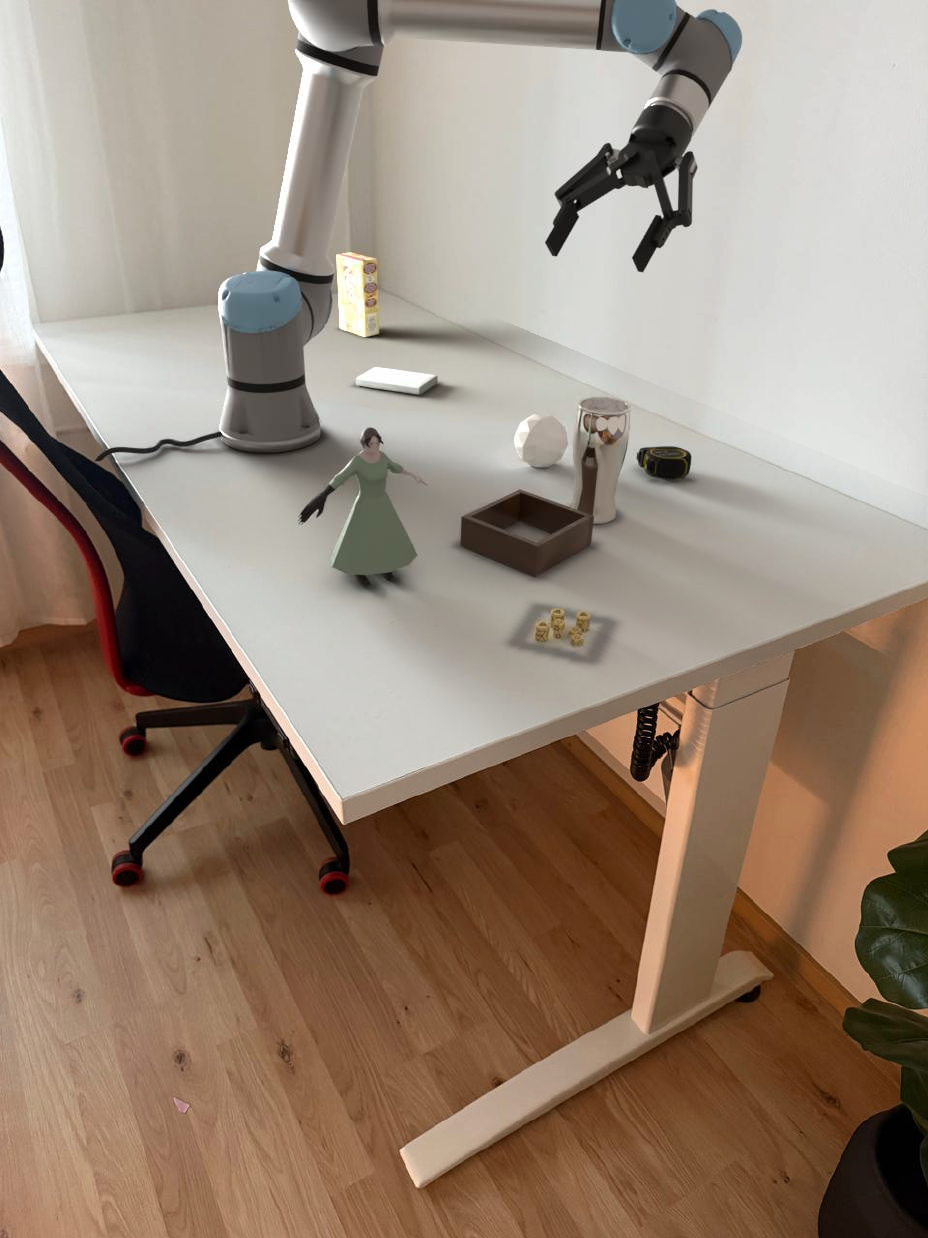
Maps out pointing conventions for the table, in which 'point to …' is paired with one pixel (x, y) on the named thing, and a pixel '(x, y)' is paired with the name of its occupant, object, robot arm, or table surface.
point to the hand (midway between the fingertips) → (592, 257)
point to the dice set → (563, 627)
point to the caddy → (518, 552)
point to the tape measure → (665, 461)
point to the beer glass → (599, 454)
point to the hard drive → (397, 380)
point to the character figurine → (368, 516)
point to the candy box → (358, 294)
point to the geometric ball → (541, 440)
